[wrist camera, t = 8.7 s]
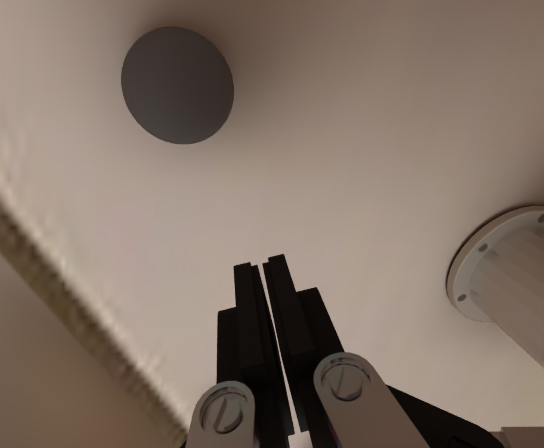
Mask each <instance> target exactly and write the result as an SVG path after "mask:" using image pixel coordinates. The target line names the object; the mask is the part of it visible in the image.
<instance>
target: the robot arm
mask: <svg viewBox="0 0 544 448" xmlns="http://www.w3.org/2000/svg"><path fill="white" fill-rule="evenodd" d="M268 261H269V262H267V263H263V269H264V274H265V279H266V284H267V289H268V294H269V299H270V304H271V308H272V313H273V318H274V323H275V328H276V333H277V338H278V343H279V348H280V352H281V357H282V361H283V365H284V369H285V373H286V377H287V380H288V384H289V388H290V392H291V396H292V400H293V403H294V407H295V411H296V415H297V419H298V423H299V427H300V430H301V432H304V431H308V430H309V433H310V437H311V441H312V446H313V448H544V427H501V431H500V432H488V431H486V430H485V429H483V428H481V427H480V426H478V425H476V424H474V423H471V422H469V421H467V420H465V419H462V418H460V417H458V416H456V415H453V414H451V413H449V412H447V411H444V410H442V409H440V408H438V407H435V406H433V405H431V404H429V403H427V402H424V401H422V400H420V399H418V398H415V397H413V396H411V395H409V394H406V393H404V392H402V391H400V390H397V389H395V388H393V387H391V386H388V385H386V384H385V383H384V382H383V380H382V379H381V377H380V376H379V375H378V373H377V372H376V370H375V369H374V367H373V366H372V365H371V364H370V363H369V362H368V361H367V360H366V359H364V358H363V357H361V356H359V355H356V354H353V353H349V352H344V349H343V347H342V345H341V342H340V340H339V338H338V335H337V333H336V330H335V328H334V326H333V323H332V321H331V319H330V316H329V314H328V312H327V309H326V307H325V305H324V302H323V300H322V298H321V295H320V293H319V291H318V289H317V287H315V288H311V289H307V290H302V291H298V292H296V290H295V287H294V284H293V281H292V278H291V275H290V272H289V269H288V266H287V263H286V259H285V256H284V254H281V255H277V256H273V257H269V258H268ZM234 282H235V298H236V307H234V308H230V309H226V310H222V311H219V312H218V326H217V385H215V386H213V387H211V388H210V389H209V390H207V391H206V392H205V393H204V394H203V395H202V396H201V398H200V399H199V401H198V402H197V404H196V407H195V409H194V412H193V416H192V420H191V424H190V429H189V433H188V438H187V440H186V441H185V442H184V444H183V445H182V446H181V447H180V448H290V447H289V441H288V436H289V435H293V434H295V432H294V427H293V422H292V417H291V411H290V406H289V401H288V396H287V391H286V386H285V381H284V376H283V371H282V366H281V361H280V356H279V351H278V346H277V341H276V336H275V331H274V327H273V323H272V319H271V315H270V311H269V307H268V304H267V300H266V296H265V292H264V288H263V284H262V281H261V277H260V273H259V269H258V265H254V266H251V263H250V262H248V263H244V264H240V265H236V266H234ZM447 292H448V297H449V299H450V301H451V303H452V305H453V306H454V307H455V308H456V309H457V310H458V311H459V312H460V313H461V314H462V315H464V316H465V317H466V318H469V319H471V320H474V321H480V322H495V323H496V324H497V325H498V326H499V327H500V328H501V329H502V330H503V331H504V332H505V333H506V334H507V335H509V336H510V337H511V338H512V339H513V340H514V341H515V342H516V343H517V344H518V345H519V346H520V347H521V348H523V349H524V350H525V351H526V352H527V353H528V354H529V355H530V356H531V357H532V358H533V359H534V360H535V361H537V362H538V363H539V364H540V365H541V366H542V367H543V368H544V206H529V207H522V208H519V209H516V210H513V211H510V212H508V213H506V214H504V215H502V216H500V217H498V218H496V219H494V220H493V221H491V222H490V223H488V224H487V225H485V226H484V227H482V228H481V229H480V230H479V231H478V232H477V233H476V234H474V235H473V236H472V237H471V238H470V240H469V241H468V242H467V243H466V244H465V245H464V246H463V248H462V249H461V251H460V252H459V254H458V255H457V257H456V258H455V260H454V262H453V265H452V267H451V269H450V273H449V276H448V281H447Z"/></svg>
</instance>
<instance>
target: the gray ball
mask: <svg viewBox="0 0 544 448" xmlns="http://www.w3.org/2000/svg"><path fill="white" fill-rule="evenodd" d="M121 85H122V91H123V96H124V99H125V102H126V105H127V107H128V109H129V111H130V112H131V114H132V115H133V117H134V118H135V120H136V121H137V122H138V123H139V124H140V125H141V126H142V127H143V128H144V129H145V130H146V131H147V132H149V133H150V134H152V135H153V136H155V137H157V138H159V139H161V140H163V141H166V142H170V143H174V144H192V143H197V142H200V141H203V140H205V139H207V138H209V137H211V136H212V135H213V134H215V133H216V132H217V131H218V130H219V129H220V128H221V127H222V126H223V124H224V123H225V122H226V120H227V118H228V116H229V114H230V111H231V108H232V104H233V98H234V85H233V79H232V75H231V72H230V69H229V67H228V64H227V62H226V60H225V59H224V57H223V56H222V54H221V53H220V51H219V50H218V49H217V48H216V47H215V46H214V45H213V44H212V43H211V42H210V41H209V40H207V39H206V38H205V37H203V36H201V35H200V34H198V33H196V32H193V31H191V30H188V29H184V28H179V27H164V28H158V29H155V30H152V31H150V32H148V33H147V34H145V35H143V36H142V37H141V38H139V39H138V40H137V41H136V42H135V43H134V44H133V46H132V47H131V48H130V50H129V51H128V53H127V55H126V58H125V60H124V63H123V67H122V74H121Z"/></svg>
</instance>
